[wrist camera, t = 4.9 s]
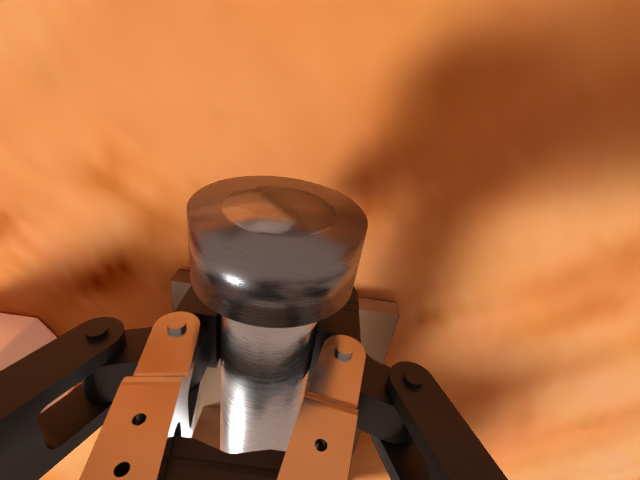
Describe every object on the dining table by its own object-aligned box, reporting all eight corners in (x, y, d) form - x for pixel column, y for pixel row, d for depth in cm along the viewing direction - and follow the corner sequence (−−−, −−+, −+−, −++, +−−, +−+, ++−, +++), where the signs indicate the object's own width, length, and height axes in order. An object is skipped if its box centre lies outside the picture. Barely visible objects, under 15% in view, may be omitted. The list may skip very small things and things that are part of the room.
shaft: (220, 166, 11) (150, 237, 7) (363, 189, 11) (373, 271, 7) (219, 520, 23) (193, 621, 19) (289, 530, 23) (277, 632, 19)
